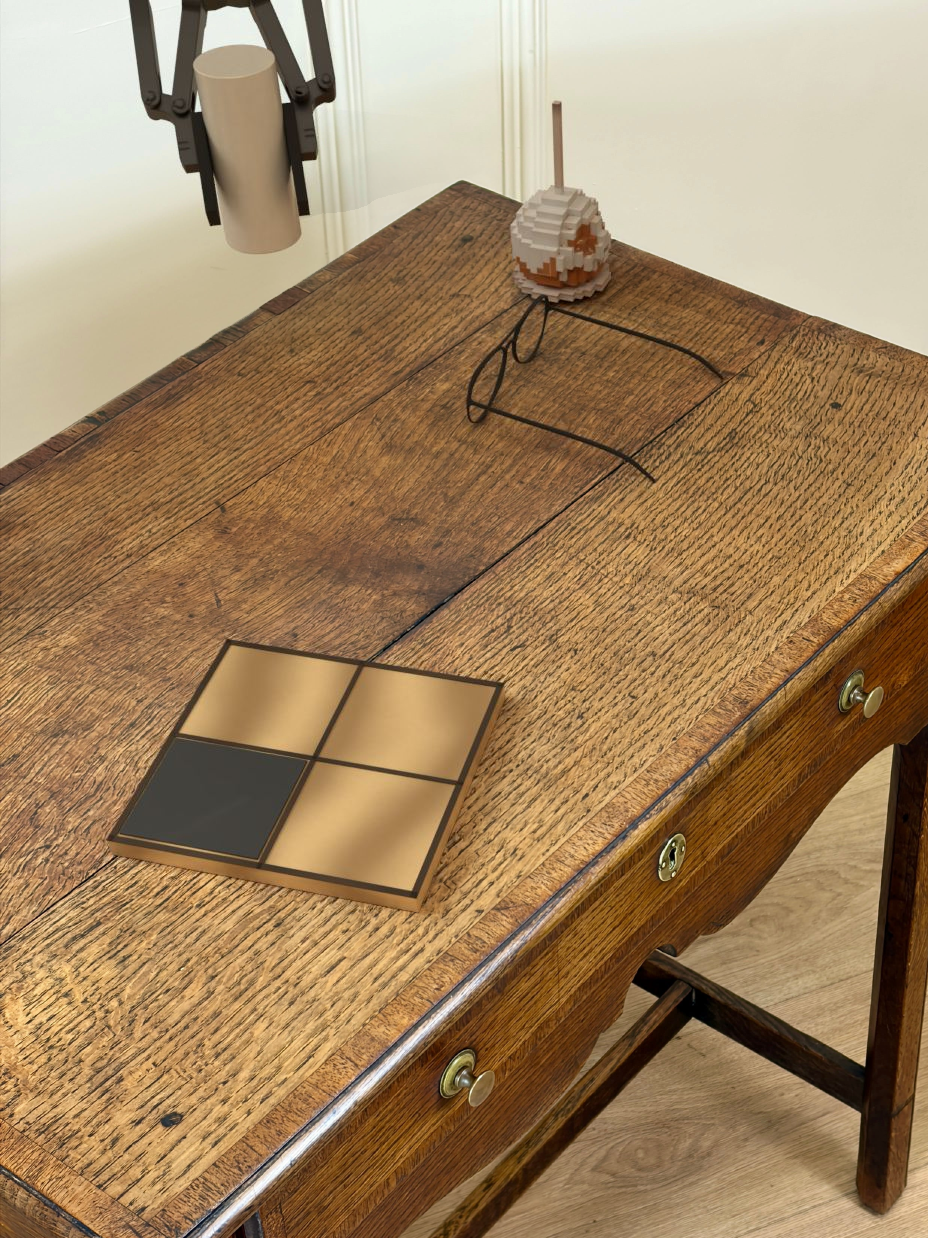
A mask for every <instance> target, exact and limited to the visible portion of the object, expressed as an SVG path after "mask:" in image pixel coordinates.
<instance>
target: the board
mask: <svg viewBox="0 0 928 1238" xmlns="http://www.w3.org/2000/svg"><path fill="white" fill-rule="evenodd" d="M505 686H506V685H505V682H502V681H501V682H500V681H495V680H489V679H482V678H476V677H471V676H463V675H459V674H458V675H457V674H450V673H445V672H438V671H432V670H425V669H419V668H414V667H407V666H401V665H395V664H387V663H382V662H381V663H380V662H376V661H369V660H363V659H358V658H357V659H356V658H351V657H344V656H337V655H331V654H324V653H319V652H313V651H306V650H299V649H294V648H287V647H282V646H275V645H269V644H262V643H256V642H249V641H244V640H243V641H242V640H236V639H230V638H226V640H225V641H224V643H223V644H222V647H220V650H219V651H218V653H217V654H216V656H215V658H214V660H213V661H212V663H211V665H210V666H209V667H208V669H207V671H206V673H205V674H204V676H203V678H202V680H201V681H200V683H199V684H198V686H197V688H196V689H195V691H194V692H193V695H192V696H191V698H190V700H189V701H188V703H187V705H186V706H185V708H184V710H183V711H182V713H181V714H180V716H179V718H178V719H177V722H175V724H174V726H173V728H172V730H171V731H170V732H169V734H168V736H167V737H166V739H165V741H164V743H163V744H162V746H161V748H160V749H159V751H158V753H157V754H156V756H155V758H154V759H153V761H152V763H151V764H150V766H149V767H148V769H147V771H146V773H144V775H143V777H142V779H141V781H140V783H139V784H138V785H137V788H136V789H135V791H134V793H133V794H132V796H131V797H130V799H129V801H128V803H127V804H126V805H125V807H124V809H123V811H122V812H121V814H120V816H119V818H118V819H117V821H116V823H115V824H114V825H113V828H112V829H111V831H110V832H109V834H108V835H107V837H106V839H105V840H106V842H107V845H108V848H109V851H110V853H111V855H113V856H118V857H124V858H127V859H128V858H129V859H134V860H139V861H144V862H149V863H156V864H160V865H164V866H165V865H166V866H170V867H176V868H181V869H187V870H192V871H197V872H203V873H207V874H213V875H218V876H223V877H229V878H235V879H239V880H244V881H250V882H256V883H259V884H266V885H271V886H277V887H281V888H287V889H292V890H298V891H303V892H308V893H313V894H319V895H324V896H327V897H328V896H329V897H334V898H340V899H345V900H350V901H355V902H360V903H364V904H365V903H366V904H369V905H370V904H371V905H375V906H382V907H388V908H390V909H391V908H392V909H397V910H403V911H408V912H414V913H419V912H420V910H421V907H422V905H423V903H424V900H425V898H426V895H427V893H428V890H429V888H430V886H431V883H432V880H433V878H434V875H435V873H436V871H437V868H438V866H439V863H440V860H441V858H442V856H443V854H444V851H445V848H446V846H447V843H448V841H449V838H450V836H451V833H452V831H453V829H454V826H455V823H456V821H457V819H458V816H459V814H460V812H461V809H462V806H463V805H464V801H465V799H466V796H467V794H468V792H469V789H470V786H471V785H472V782H473V779H474V778H475V774H476V772H477V769H478V768H479V765H480V762H481V759H482V757H483V755H484V753H485V750H486V747H487V746H488V742H489V740H490V737H491V735H492V733H493V730H494V727H495V725H496V723H497V721H498V718H499V715H500V713H501V711H502V708H503V705H504V703H505V700H506V689H505V688H506V687H505Z"/></svg>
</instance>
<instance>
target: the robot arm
mask: <svg viewBox="0 0 928 1238" xmlns="http://www.w3.org/2000/svg"><path fill="white" fill-rule="evenodd" d="M301 5H302V10H303V15H304V21H305V27H306V33H307V39H308V44H309V50H310V56H311V61H312V66H313V72H314V77H313V78H311V79H308V80H307V81H306V79H305V77H304V76H305V75H304V74H303V72H302V69H301V67H300V64H299V62H298V61H297V58H296V56H295V54H294V51H293V49H292V47H291V44H290V42H289V40H288V38H287V34H286V33H285V30H284V28H283V26H282V24H281V21H280V19H279V17H278V15H277V12H276V10H275V8H274V5H273V3H272V0H181V11H180V12H181V13H180V19H179V28H178V29H179V30H178V37H177V46H176V55H175V64H174V72H173V81H172V90H171V94H169V93H164V91H163V84H162V77H161V75H162V74H161V69H160V61H159V52H158V46H157V45H158V44H157V38H156V30H155V22H154V14H153V9H152V5H151V2H150V0H128V6H129V13H130V22H131V29H132V36H133V37H132V38H133V45H134V52H135V60H136V68H137V76H138V84H139V90H140V98H141V102H142V104H143V106H144V109H145V112H146V115H147V116H148V118H149V119H150V120H152V121H160V120H162V121H166V122H170V123H171V124H172V125H173V126H174V131H175V138H176V144H177V152H178V157H179V161H180V165H181V167H182V168H183V171H184V172H185V174H196V173H199V179H200V186H201V193H202V198H203V205H204V206H203V207H204V211H205V216H206V218H207V219H206V220H207V222H208V225H209V227H217V226H222V221H221V220H222V219H221V212H220V206H219V200H218V195H217V190H216V185H215V179H214V174H213V168H212V163H211V158H210V152H209V147H208V142H207V137H206V131H205V126H204V121H203V116H202V111H196V106H197V99H198V98H197V97H198V90H197V85H196V79H195V74H194V69H193V63H194V60H195V59H196V58H197V57H198V56H199V55H201V54H202V53H203V46H204V39H205V30H206V27H207V23H208V14H209V12H212V11H218V10H221V9H222V8H226V7H229V8H230V7H231V8H236V9H244V8H248V10H249V13H250V15H251V17H252V19H253V21H254V23H255V25H256V27H257V29H258V31H259V34H260V36H261V38H262V41H263V42H264V45H265V48H266V49H268V50H270V51H271V52H272V53H273V54H274V56H275V61H276V67H277V74H278V78H279V79H280V82H281V84H282V86H283V89H284V91H285V93H286V95H287V97H288V100H289V102H282V109H283V115H284V122H285V128H286V135H287V141H288V148H289V155H290V161H291V168H292V174H293V181H294V187H295V194H296V200H297V207H298V213H299V217H305V216H311V210H310V205H309V197H308V190H307V189H308V188H307V183H306V176H305V169H304V163H303V162H311V161H317V159H318V155H319V146H318V145H319V144H318V139H317V133H316V125H315V119H314V112H315V110H316V108H318V107H319V106H321V105H323V104H331V103H333V102H335V100H336V98H337V81H336V74H335V69H334V63H333V58H332V51H331V46H330V40H329V35H328V29H327V24H326V23H327V22H326V18H325V13H324V12H325V11H324V6H323V1H322V0H301Z"/></svg>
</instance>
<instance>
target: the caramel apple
mask: <svg viewBox="0 0 928 1238" xmlns="http://www.w3.org/2000/svg"><path fill="white" fill-rule="evenodd" d="M562 106H563V105H562V101H561V100H553V102H552V103H551V111H552V112H551V115H552V116H551V118H552V142H553V143H552V147H553V148H552V149H553V150H552V151H553V177H554V178H553V182H554V184H551V185H550V186H549V187H548V188H547V189H544V190H543V189H538V190H537V191H536V192H535V194H532V195H531V196H530V198H529V199H528V200H526V201H524V203H523V204H522V205H521V207H519V208H518V210H517V212H516V213H515V216H516V217H515V218H514V220H513V221H512V222H511V224H510V227H509V229H510V245H511V247H510V248H511V252H512V253H511V254H512V259H514V260H516V265H515V266H514V267H513V268H512V276H513V284H515V285H517V289H521V293H523V294H529V295H531V299H533V300H535V299H536V298H537V297H538V296H540V295H543V294H544V295H546V296H548V299H549V302H551V303H552V302H553V303H559V301H560V300H563V301H567V302H574V300H575V299H579V300H582V299H584V297H587V298H588V297H589V298H591V297H592V296H593V294H594V293H595V292H596V291H597V292H603V290H604V289H605V288H606V286H607V285H608V283H609V282H610V280H611V279H612V272H611V271H610V263H606V261H607V259H608V258H609V256H610V254H609V253H610V252H609V251H610V249H611V247H612V233H610V232H609V230H608V229H606V221H604V220H603V217H602V212H601V211H600V210H599V201H598V200H597V198H596V197H591V196H587V195H586V192H584V190H583V188H575V187H570V186H565V181H564V179H565V178H564V176H565V175H564V145H563V144H564V143H563V113H562V112H563V108H562ZM541 301H545V299H542V300H541Z"/></svg>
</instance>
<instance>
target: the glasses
mask: <svg viewBox="0 0 928 1238" xmlns="http://www.w3.org/2000/svg"><path fill="white" fill-rule="evenodd" d="M542 299H545V300H544V314H543V322H542V328H541V332H540V335H539V338H538V340H537V343H536V345H535V346H534V349H533V351H532V352H531V354H530V355H529V356H528V357H527V359H525V360H522V361H520V359H519V356H518V353H517V342H518V338H519V335H520V332H521V329H522V328H523V325H525V324H524V323H525V322H526V320H527V319H528V317H529V316H530V314H531V312H533V310H534V309H535V308H536V306H537V305H539V304H540V303H541V301H543V300H542ZM552 311H553V312H557V313H560V314H563V315H565V316H568V317H572V318H576V319H579V320H582V321H585V322H588V323H592V324H594V325H598V326H601V327H604V328H608V329H610V330H614V331H617V332H621V333H624V334H628V335H631V336H634V337H637V338H639V339H643V340H647V341H649V342H653V343H655V344H659V345H662V346H663V347H664V346H665V347H667V348H670V349H673V350H675V351H678V352H680V353H682V354H685V355H687V356H689V357H691V358H692V359H695V361H698V362H699V363H700V364H702V365H704V367H706V368H707V369H708V370H709V371H710V372H712V373H713V374H714V375H715V376H716V377H717V378H719V379H720V380H723V379H724V376H723V375H722V374H721V373H720V372H719V371H718V370H717V369H716V368H715V367H714V366H713V365H711V364H710V363H709V361H708V360H707V359H705V358H704V357H703V356H701V355H699V354H697V353H695V352H694V351H692V350H690V349H688V348H685V347H683V346H681V345H678V344H675V343H672V342H670V341H667V340H664V339H662V338H659V337H656V336H653V335H648V334H646V333H643V332H640V331H636V330H633V329H630V328H626V327H624V326H620V325H617V324H613V323H610V322H607V321H603V320H600V319H597V318H593V317H590V316H586V315H584V314H580V313H577V312H573V311H570V310H567V309H563V308H559V307H556V306H553V305H551V304H550V301H549V299H548V296H546V295H544V294H543V295H540V296H538V297H537V298H536V299H533V301H532V302H531V304H530V305H529V306H528V307H527V309H526V310H525V311H524V312H523V314H522V316H520V317H521V318H520V319H519V320H518V321H517V323H516V324H515V325H514V327H513V328H512V329H511V330H510V331H509V333H508V334H507V335H506V336H505V337H504V338H503V339H502V340H501V342H499V344H497V346H496V347H495V348H494V349H492V350H491V351H490V352H489V353H488V354H487V355H486V356H485V357H484V359H482V361H481V362H480V363H479V364H478V366H476V369H475V370H474V371H473V373H472V375H471V377H470V381H469V384H468V387H467V394H466V401H465V402H466V403H465V406H466V416H467V420H468V421H469V422H470V423H471V424H479V423H480V422H481V421H483V420H484V419H485V417H486V416H487V415H488V413H489V412H490V413H492V414H496V415H499V416H502V417H504V418H507V419H510V420H514V421H517V422H519V423H523V424H525V425H528V426H532V427H535V428H537V429H541V430H544V431H547V432H550V433H553V434H556V435H560V436H562V437H565V438H568V439H571V440H574V441H577V442H579V443H583V444H585V445H588V446H590V447H594V448H595V449H599V450H602V451H604V452H607V453H609V454H611V455H613V456H616V457H618V458H619V459H622V460H624V461H625V462H627V463H628V464H629V465H631V466H632V467H634V468H635V469H636V470H637V471H638V472H640V473H641V474H642V475H643V476H645V477H646V478H647V479H648V480H649V481H651V482H652V483H656V478H654V477H653V476H652V475H651V474H650V473H649V472H648V471H647V470H646V469H645V468H644V467H643V466H641V464H639V463H638V462H637V461H636V460H634V459H633V458H632V457H630V456H629V455H626V454H625V453H623V452H621V451H619V450H617V449H615V448H612V447H610V446H608V445H606V444H602V443H600V442H598V441H594V440H593V439H589V438H587V437H584V436H581V435H578V434H575V433H571V432H570V431H567V430H563V429H559V428H557V427H555V426H551V425H547V424H544V423H542V422H538V421H535V420H532V419H529V418H526V417H524V416H520V415H518V414H517V415H516V414H514V413H510V412H507V411H505V410H501V409H498V408H496V407H492V405H493V403H494V401H495V399H496V397H497V395H498V393H499V391H500V389H501V387H502V383H503V380H504V378H505V372H506V368H507V367H506V366H507V362H508V353H509V349H510V346H511V354H512V358H513V360H514V362H516V363H517V364H519V365H526V364H528V363H530V362H531V361H532V360H533V359H534V358H535V356H536V354H537V352H538V351H539V349H540V345H541V343H542V340H543V337H544V334H545V329H546V325H547V324H546V323H547V319H548V314H549V313H550V312H552ZM511 336H512V338H511V339H510V337H511ZM505 343H506V344H505ZM504 344H505V347H504V346H503V345H504ZM500 351H502V356H501V357H502V358H501V365H500V368H499V372H498V374H497V375H498V376H497V379H496V382H495V386H494V388H493V391H492V394H491V396H490V398H489V401H488V403H487V404H483V403H481V402H477V401H475V400H474V399H472V397H473V396H472V395H473V390H474V388H475V384H476V382H477V380H478V378H479V376H480V375H481V373H482V372H483V370H484V369H485V367H486V365H487V364H488V363H489V362H490V360H491V359H492V358H493V357H494V356H495V355H496V354H497V353H499V352H500ZM471 406H473V407H476V408H479V409H482V410H483V412H482V413H481V415H480V416H479V417H478V418H477V419H476V420H472V418H471V415H470V413H471V412H470V410H471V409H470V407H471Z"/></svg>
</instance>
